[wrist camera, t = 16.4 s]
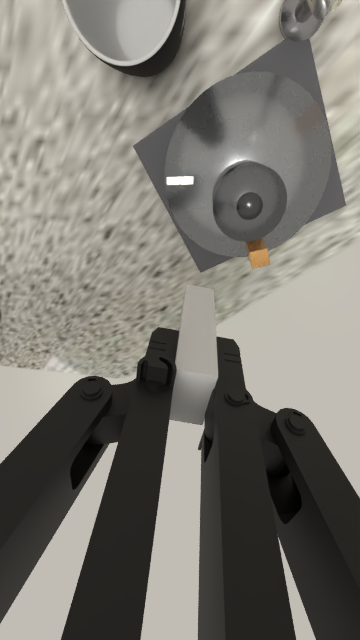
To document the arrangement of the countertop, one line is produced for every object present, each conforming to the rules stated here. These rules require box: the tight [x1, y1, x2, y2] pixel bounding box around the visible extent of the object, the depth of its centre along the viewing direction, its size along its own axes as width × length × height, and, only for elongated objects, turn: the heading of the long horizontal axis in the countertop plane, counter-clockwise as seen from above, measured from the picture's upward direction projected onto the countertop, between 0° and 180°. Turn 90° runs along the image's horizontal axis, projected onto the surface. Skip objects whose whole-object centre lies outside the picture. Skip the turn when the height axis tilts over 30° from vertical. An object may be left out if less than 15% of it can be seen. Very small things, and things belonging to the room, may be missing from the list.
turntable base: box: [133, 38, 346, 272], centre depth 33 cm, size 20×18×2 cm
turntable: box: [164, 71, 332, 269], centre depth 29 cm, size 18×18×6 cm
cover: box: [212, 160, 287, 242], centre depth 29 cm, size 7×7×7 cm
